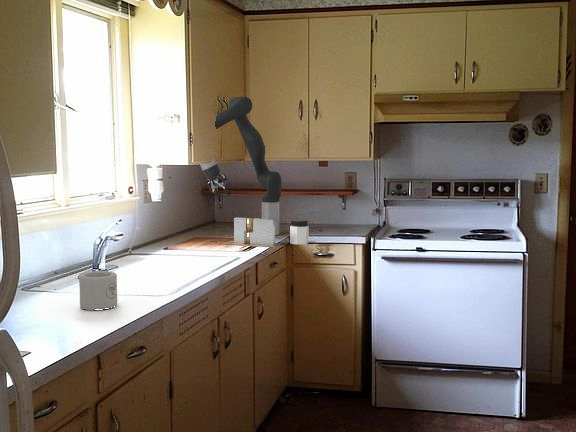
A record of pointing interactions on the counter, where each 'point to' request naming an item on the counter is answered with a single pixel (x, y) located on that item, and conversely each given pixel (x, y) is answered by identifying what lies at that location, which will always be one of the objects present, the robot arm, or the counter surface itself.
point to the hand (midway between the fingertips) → (224, 196)
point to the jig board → (248, 244)
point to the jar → (299, 231)
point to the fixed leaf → (262, 232)
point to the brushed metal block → (241, 229)
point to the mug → (98, 290)
